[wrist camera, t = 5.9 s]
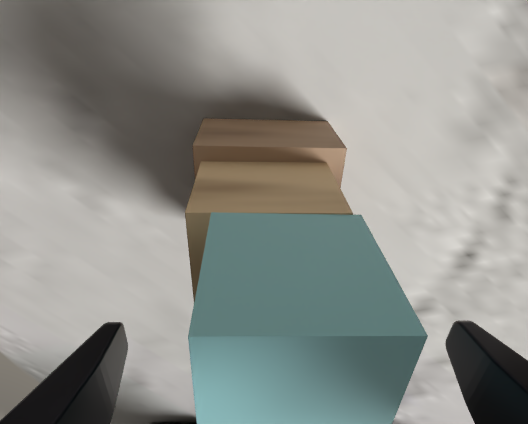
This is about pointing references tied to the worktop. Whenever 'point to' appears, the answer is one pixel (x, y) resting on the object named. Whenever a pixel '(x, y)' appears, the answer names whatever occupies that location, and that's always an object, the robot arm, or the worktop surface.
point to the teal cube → (299, 323)
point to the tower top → (257, 196)
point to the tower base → (269, 143)
